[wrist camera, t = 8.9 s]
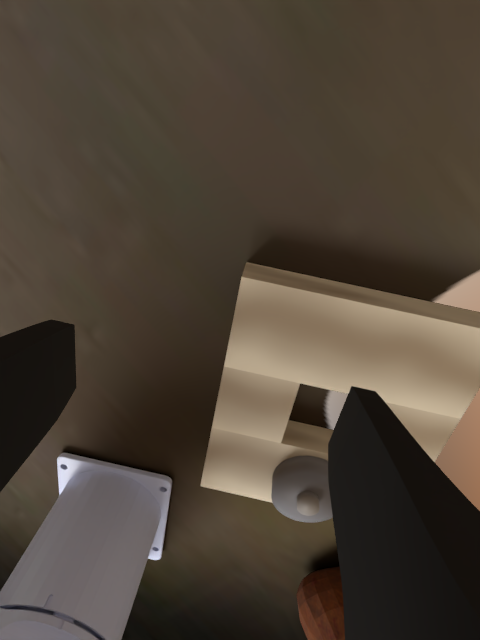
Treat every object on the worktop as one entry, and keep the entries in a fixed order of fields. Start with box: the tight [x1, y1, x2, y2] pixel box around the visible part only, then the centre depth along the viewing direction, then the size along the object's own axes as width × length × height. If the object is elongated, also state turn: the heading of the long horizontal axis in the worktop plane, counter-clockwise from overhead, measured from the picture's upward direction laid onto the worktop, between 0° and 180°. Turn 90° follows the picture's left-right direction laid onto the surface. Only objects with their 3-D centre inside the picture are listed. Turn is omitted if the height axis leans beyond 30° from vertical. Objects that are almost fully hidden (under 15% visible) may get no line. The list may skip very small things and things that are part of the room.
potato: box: [297, 567, 345, 640], centre depth 25 cm, size 8×12×8 cm, turn 97°
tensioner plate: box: [200, 262, 480, 522], centre depth 20 cm, size 14×12×4 cm
